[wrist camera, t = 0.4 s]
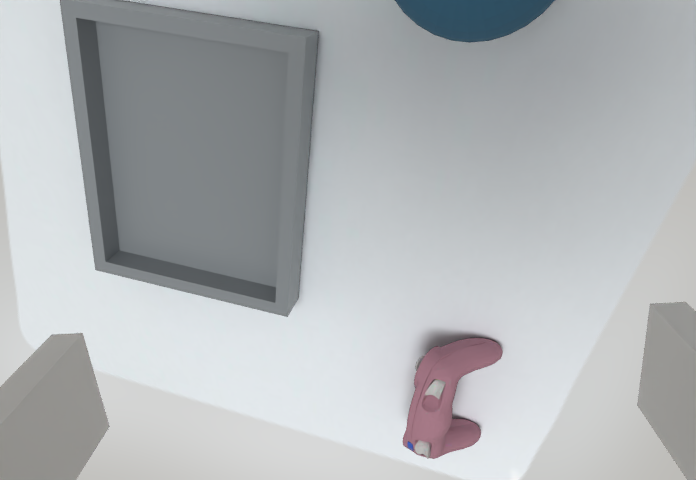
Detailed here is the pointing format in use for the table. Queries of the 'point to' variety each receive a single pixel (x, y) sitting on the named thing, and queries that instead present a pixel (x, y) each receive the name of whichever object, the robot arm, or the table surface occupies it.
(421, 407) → the video game controller
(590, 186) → the table surface
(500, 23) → the light bulb
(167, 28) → the tray
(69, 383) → the robot arm
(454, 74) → the table surface
